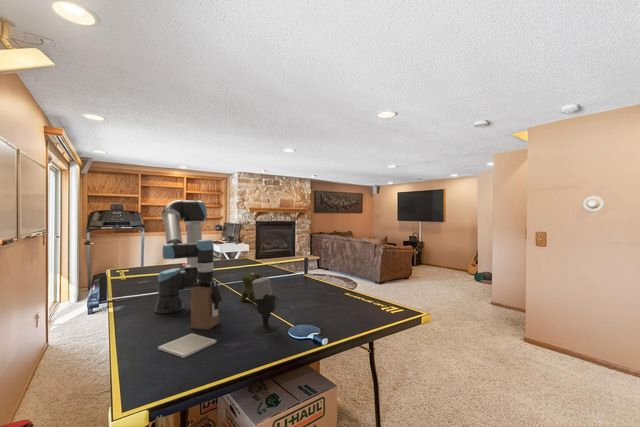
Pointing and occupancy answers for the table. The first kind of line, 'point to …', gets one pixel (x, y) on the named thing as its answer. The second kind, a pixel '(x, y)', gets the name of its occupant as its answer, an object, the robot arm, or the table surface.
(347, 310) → the table surface
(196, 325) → the wooden block
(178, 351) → the tile
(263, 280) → the microphone
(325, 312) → the table surface
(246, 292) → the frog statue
